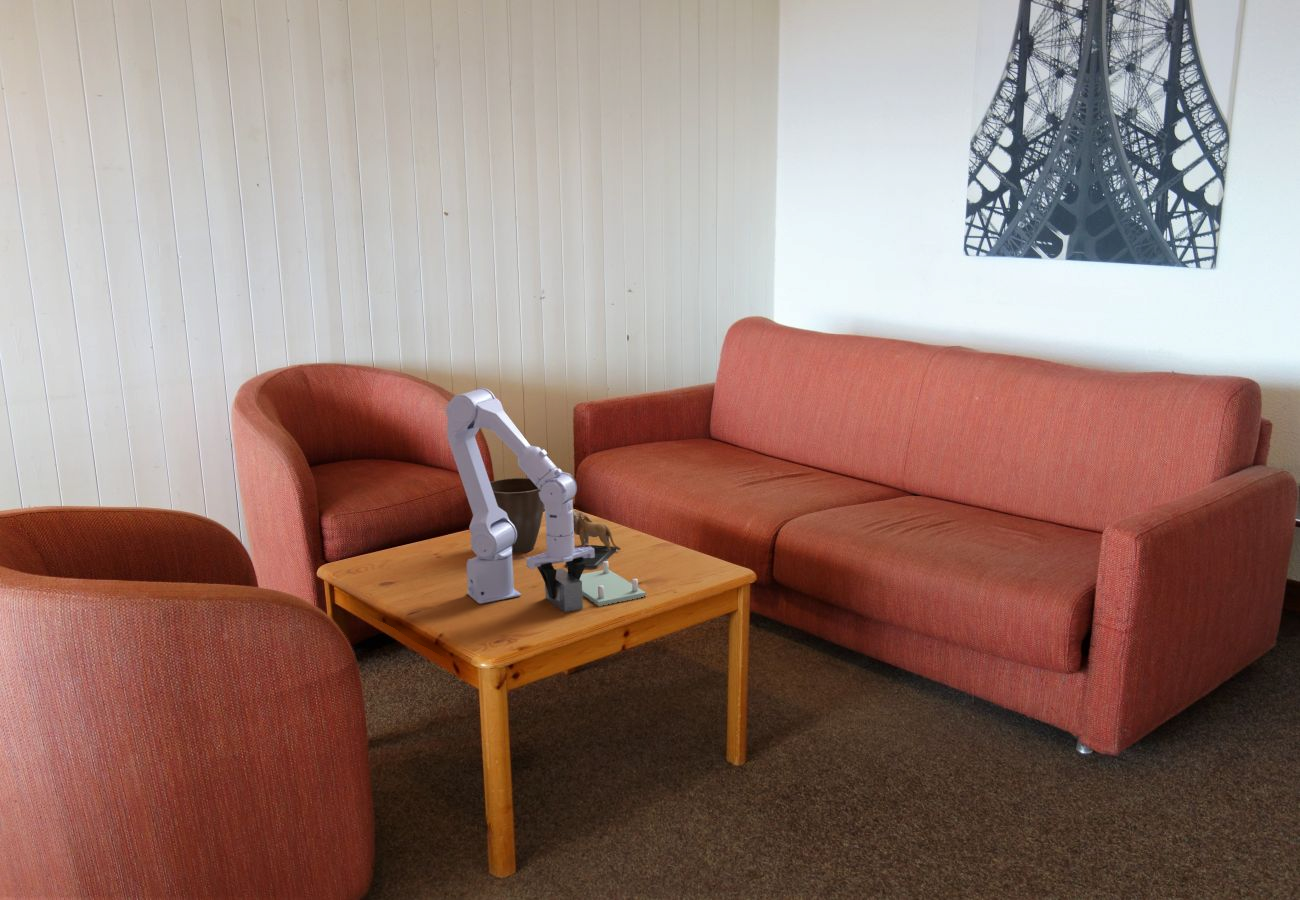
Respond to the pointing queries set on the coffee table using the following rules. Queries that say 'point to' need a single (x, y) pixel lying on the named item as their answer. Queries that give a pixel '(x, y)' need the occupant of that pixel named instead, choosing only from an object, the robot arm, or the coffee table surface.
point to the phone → (598, 556)
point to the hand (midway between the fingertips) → (562, 595)
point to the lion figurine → (591, 530)
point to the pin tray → (609, 587)
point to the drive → (566, 592)
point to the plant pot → (520, 509)
